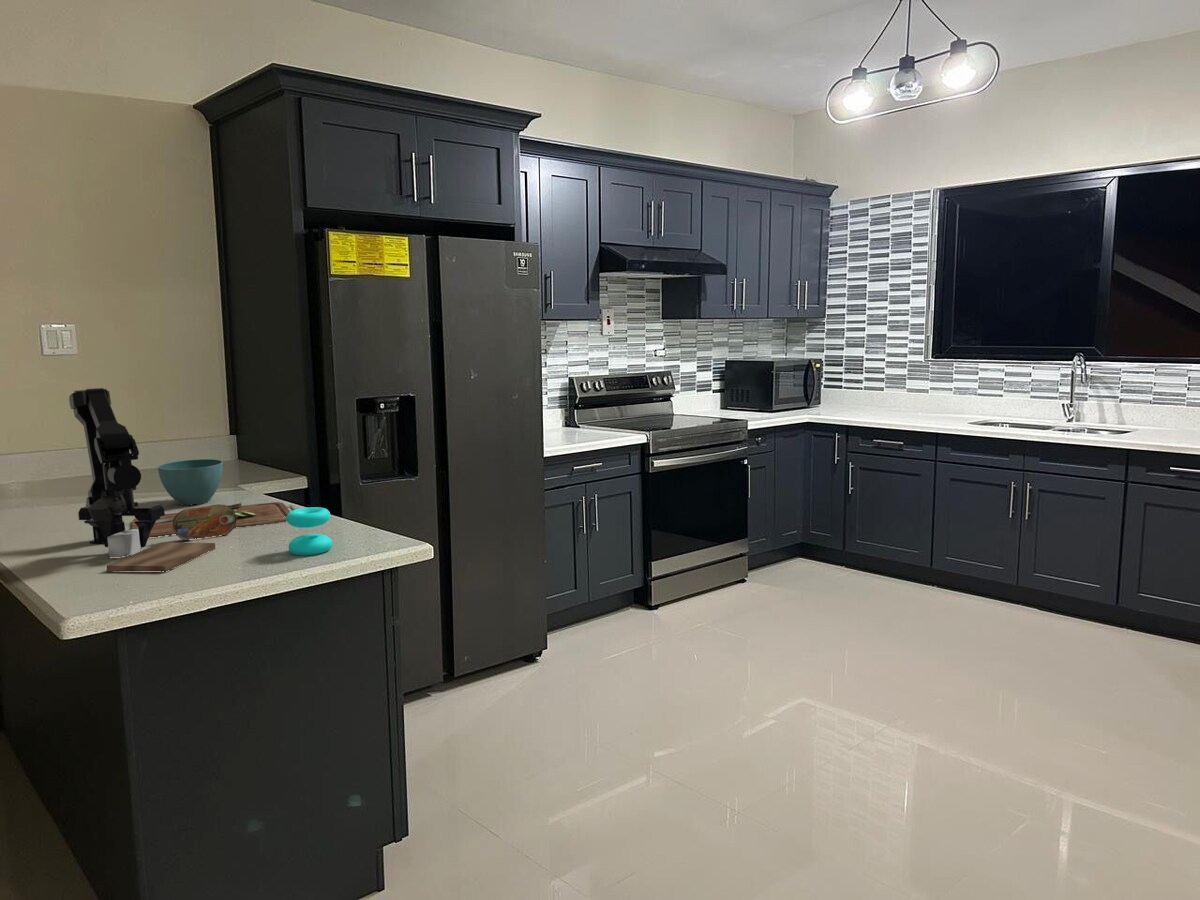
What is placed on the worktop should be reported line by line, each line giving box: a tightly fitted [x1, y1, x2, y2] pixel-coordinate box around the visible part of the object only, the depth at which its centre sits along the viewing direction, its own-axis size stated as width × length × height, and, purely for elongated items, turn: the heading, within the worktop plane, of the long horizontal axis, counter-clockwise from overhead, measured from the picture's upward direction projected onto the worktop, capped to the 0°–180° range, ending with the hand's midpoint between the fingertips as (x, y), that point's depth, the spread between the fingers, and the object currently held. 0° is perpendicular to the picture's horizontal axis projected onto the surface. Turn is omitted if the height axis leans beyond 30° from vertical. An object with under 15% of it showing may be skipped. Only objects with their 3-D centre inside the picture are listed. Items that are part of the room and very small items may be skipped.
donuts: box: [286, 506, 333, 556], centre depth 205 cm, size 10×10×10 cm
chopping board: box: [124, 501, 297, 537], centre depth 241 cm, size 45×27×3 cm, turn 118°
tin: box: [173, 503, 237, 541], centre depth 221 cm, size 15×3×8 cm, turn 126°
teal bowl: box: [157, 458, 224, 506], centre depth 265 cm, size 18×18×12 cm
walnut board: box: [106, 542, 216, 573], centre depth 201 cm, size 14×20×2 cm
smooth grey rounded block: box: [107, 529, 143, 558], centre depth 207 cm, size 4×9×5 cm, turn 174°
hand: (125, 546), depth 207 cm, fingers open, 9 cm apart
